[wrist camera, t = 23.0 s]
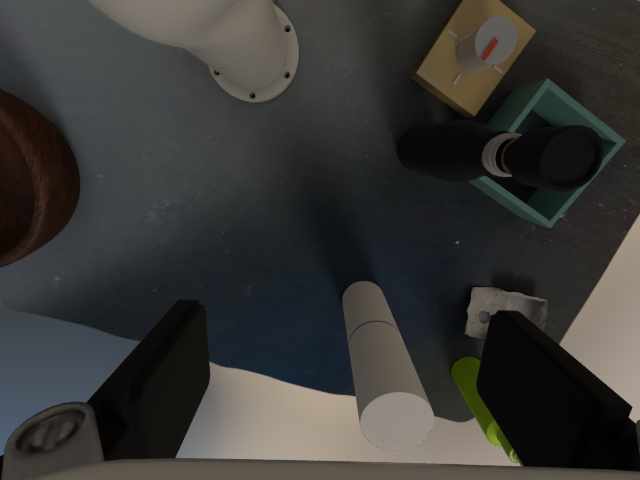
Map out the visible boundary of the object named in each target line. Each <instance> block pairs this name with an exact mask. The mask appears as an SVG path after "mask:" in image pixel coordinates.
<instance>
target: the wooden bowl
mask: <svg viewBox="0 0 640 480" xmlns="http://www.w3.org/2000/svg"><path fill="white" fill-rule="evenodd" d="M79 193H80V177H79V171H78V167H77V163H76V161H75V158H74V155H73V153H72V151H71V149H70V147H69V146H68V144H67V142H66V141H65V139H64V138H63V136H62V135H61V134H60V133H59V131H58V130H57V129H56V128H55V127H54V126H53V125H52V124H51V122H50V121H48V120H47V119H46V118H45V117H44V116H43V115H42V114H41V113H39V112H38V111H37V110H35V109H34V108H33V107H31V106H30V105H29V104H27V103H26V102H24V101H22V100H21V99H19V98H17V97H16V96H14V95H12V94H10V93H8V92H6V91H4V90H2V89H0V268H1V267H4V266H7V265H9V264H11V263H13V262H15V261H17V260H19V259H22V258H23V257H25V256H27V255H29V254H30V253H32V252H34V251H35V250H37V249H39V248H40V247H42V246H43V245H45V244H46V243H48V242H49V241H50V240H52V239H53V238H54V237H55V236H56V235H57V234H58V233H59V232H60V231H61V230H62V229H63V228H64V227H65V226H66V224H67V223H68V222H69V220H70V219H71V217H72V215H73V213H74V211H75V209H76V206H77V203H78V199H79Z"/></svg>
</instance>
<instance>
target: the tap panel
mask: <svg viewBox="0 0 640 480" xmlns="http://www.w3.org/2000/svg"><path fill="white" fill-rule="evenodd" d="M495 16H503V17H506V18H508V19H510V20H511V21H512V22H513V23H514V25H515V27H516V30H517V42H516V45H515V48H514V50H513V52H512V53H511V54H510V56H509V57H508V58H507V59H505V60H504V61H502V62H500V63H498V64H495V65H493V66H491V67H489V68H486V69H484V70H482V71H480V72H476V73H470V72H467V71H465V70H463V69H462V68H461V66H460V65H459V63H458V60H457V49H458V46H459V44H460V42H461V40H462V39H463V38H464V37H465V36H466V35H467V34H468V33H470V32H471V31H473V30H474V29H475V28H477V27H478V26H479V25H481V24H482V23H483V22H485V21H486V20H488V19H489V18H492V17H495ZM535 32H536V30H535V29H533V28H532V27H531V26H530V25H528V24H527V23H526V22H525V21H524V20H522V19H521V18H520V17H519V16H518V15H516V14H515V13H514V12H513V11H512V10H510V9H509V8H508V7H507V6H505V5H504V4H503V3H502V2H501V1H499V0H459V2H458V3H457V5H456V7H455V8H454V10H453V11H452V13H451V14H450V16H449V17H448V19H447V21H446V22H445V24H444V25H443V27H442V28H441V30H440V31H439V33H438V35H437V36H436V38H435V39H434V41H433V42H432V44H431V45H430V47H429V49H428V50H427V52H426V53H425V55H424V56H423V58H422V59H421V61H420V63H419V64H418V66H417V67H416V69H415V70H414V72H413V73H412V75H411V77H410V78H411V79H413V80H414V81H415V82H417V83H418V84H419V85H421V86H422V87H423V88H425V89H426V90H428V91H429V92H430V93H432V94H433V95H434V96H436V97H437V98H438V99H440V100H441V101H443V102H444V103H445V104H447V105H448V106H449V107H451V108H452V109H453V110H455V111H456V112H458V113H459V114H460V115H462V116H463V117H464V118H468V117H474V116H475V115H476V114H477V113H478V111H479V110H480V108H481V107H482V106H483V104H484V103H485V101H486V100H487V99H488V97H489V96H490V94H491V93H492V92H493V90H494V89H495V88H496V86H497V85H498V83H499V82H500V81H501V79H502V78H503V76H504V75H505V74H506V72H507V71H508V69H509V68H510V67H511V65H512V64H513V62H514V61H515V60H516V58H517V57H518V56H519V54H520V53H521V51H522V50H523V49H524V47H525V46H526V44H527V43H528V42H529V40H530V39H531V37H532V36H533V35H534V33H535Z"/></svg>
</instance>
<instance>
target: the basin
mask: <svg viewBox="0 0 640 480" xmlns="http://www.w3.org/2000/svg"><path fill="white" fill-rule="evenodd" d="M531 109H532V110H533V111H534V112H536V113H537V114H538V115H540V116H541V117H542V118H543V119H545V120H546V121H547V122H549V123H550V124H551V125H553V126H554V127H556V126H570V125H583V126H586V127H590V128H592V129H593V130H594V131H595V132H597V133H598V134H599V136H600V138H601V140H602V141H603V147H604V156H603V161H602V164H601V166H600V168H599V170H598V172H597V173H596V174H595V176H596V175H597V174H598V173H599V172H600V170H601V169H602V168H603V167H604V166H605V165H606V163H607V162H608V161H609V160H610V159H611V158H612V157H613V155H614V154H615V153H616V152H617V151H618V150H619V148H620V147H621V146H622V145H623V144H624V143H625V142H626V141H625V140H624V139H623V138H622V137H620V136H619V135H618V134H617V133H615V132H614V131H613V130H612V129H610V128H609V127H608V126H607V125H605V124H604V123H603V122H602V121H600V120H599V119H598V118H597V117H595V116H594V115H593V114H592V113H590V112H589V111H588V110H587V109H585V108H584V107H583V106H582V105H580V104H579V103H578V102H577V101H575V100H574V99H573V98H572V97H570V96H569V95H568V94H567V93H565V92H564V91H563V90H562V89H560V88H559V87H558V86H557V85H556V84H554V83H553V82H552V81H550V80H549V79H548V78H547V79H543V80H540V81H536V82H532V83H529V84H525V85H522V86H518V87H515V88H513V90H512V91H511V92H510V94H509V95H508V96H507V98H506V99H505V100H504V102H503V103H502V104H501V106H500V107H499V109H498V110H497V111H496V113H495V114H494V115H493V117H492V118H491V119H490V121H489V122H488V124H487V125H486V126H487V127H488V128H489V129H491V130H492V131H508V132H511V133H514V131H515V130H516V129H517V127H518V126H519V125H520V123H521V122H522V121H523V119H524V118H525V117H526V116H527V114H528V113H529V112H530V110H531ZM595 176H594V177H595ZM594 177H593V178H594ZM593 178H592V179H591V180H590V181H589V182H588V183H586V184H585V185H583V186H582V187H580V188H578V189H575V190H572V191H566V192H558V191H553V190H548V189H543V188H538V189H537V190H536V191H535V192H534V194H533V195H532V196H531V197H530V198H529V200H528V201H527V202H526V203H524V202H523V201H521V200H520V199H518V198H517V197H515V196H514V195H513V194H511V193H510V192H508V191H507V190H506V189H504V188H503V187H501V186H500V185H498V184H497V183H496V182H494V181H493V180H491V179H490V178H489V177H487V176H482V177H480V178H478V179H475V180H472V181H468V182H470V183H471V184H472V185H474V186H475V187H477V188H478V189H480V190H481V191H483V192H484V193H485V194H487V195H488V196H490V197H491V198H493V199H494V200H496V201H497V202H498V203H500V204H501V205H503V206H504V207H506V208H507V209H508V210H510V211H511V212H513V213H514V214H516V215H517V216H519V217H520V218H523V219H526V220H529V221H531V222H534V223H537V224H539V225H542V226H545V227H547V228H551V227H552V226H553V225H554V223H555V222H556V221H557V220H558V219H559V218H560V217H561V215H562V214H563V213H564V212H565V211H566V210H567V208H568V207H569V206H570V205H571V204H572V203H573V202H574V200H575V199H576V198H577V197H578V196H579V195H580V193H581V192H582V191H583V190H584V189H585V188H586V187H587V185H588V184H589V183H590V182H591V181H592V180H593Z"/></svg>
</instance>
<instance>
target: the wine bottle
mask: <svg viewBox="0 0 640 480" xmlns="http://www.w3.org/2000/svg"><path fill="white" fill-rule="evenodd" d="M603 156H604V147H603V141H602V140H601V138H600V136H599V134H598V133H597V132H595V131H594V130H593V129H592V128H590V127H586V126H583V125H570V126H556V127H542V128H534V129H532V130H529V131H527V132H525V133H524V134H523V135H521V134H518V133H511V132H508V131H492V130H491V129H489V128H488V127H487V126H485V125H483V124H480V123H477V122H473V121H469V120H457V121H450V122H444V123H438V124H432V125H425V126H419V127H415V128H412V129H410V130H408V131H407V132H406V133H405V134H404V135H403V136H402V138H401V139H400V141H399V144H398V157H399V160H400V162H401V163H402V165H403V166H404V167H406V168H407V169H409V170H412V171H415V172H418V173H422V174H425V175H428V176H432V177H435V178H438V179H442V180H445V181H449V182H453V183H454V182H466V181H472V180H475V179H478V178H480V177H482V176H488V177H493V178H496V177H511V176H513V178H514V179H515V180H516V181H518V182H519V183H521V184H525V185H529V186H533V187H538V188H543V189H548V190H553V191H558V192H566V191H572V190H575V189H578V188H580V187H582V186H583V185H585V184H586V183H588V182H589V181H590V180H591V179H592V178H593V177H594V176H595V174H596V173H597V172H598V170H599V168H600V166H601V164H602V161H603Z"/></svg>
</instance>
